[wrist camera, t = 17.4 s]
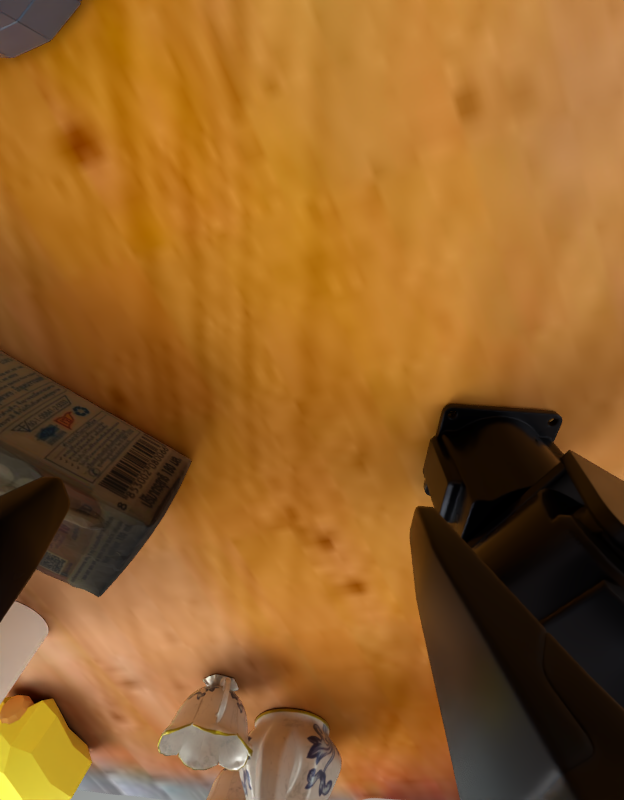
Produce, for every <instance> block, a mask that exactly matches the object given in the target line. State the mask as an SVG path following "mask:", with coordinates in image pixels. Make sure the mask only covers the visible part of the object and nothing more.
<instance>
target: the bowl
mask: <svg viewBox="0 0 624 800" xmlns="http://www.w3.org/2000/svg"><path fill="white" fill-rule="evenodd" d="M80 1H82V0H0V58H11V57H12V58H14V57H16V56H18V55H21V54H23V53H25V52H27V51H29V50H32V49H34V48H36V47H38V46H40V45H43V44H45V43H47V42H49V41H51V40H52V39H53V38H54V37H55V35H56V34H57V33H58V32H59V30H60V29H61V28H62V27H63V25H64V24H65V23H66V22H67V20H68V19H69V18H70V17H71V16H72V14H73V13H74V12H75V11H76V9H77V8H78V7H79V6H80V4H81V3H80Z"/></svg>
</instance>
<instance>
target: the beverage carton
mask: <svg viewBox="0 0 624 800" xmlns="http://www.w3.org/2000/svg"><path fill="white" fill-rule="evenodd" d="M191 462H192V461H191V459H189V458H187V457H185V456H183V455H181V454H180V453H178V452H177V451H175V450H173V449H172V448H170V447H168V446H167V445H165V444H163V443H161V442H160V441H158V440H156V439H154V438H153V437H151V436H149V435H147V434H146V433H144V432H142V431H140V430H139V429H137V428H135V427H133V426H132V425H130V424H128V423H126V422H125V421H123V420H121V419H119V418H118V417H116V416H114V415H112V414H110V413H109V412H107V411H105V410H103V409H101V408H100V407H98V406H96V405H95V404H93V403H91V402H89V401H88V400H86V399H84V398H82V397H80V396H79V395H77V394H75V393H74V392H72V391H70V390H69V389H67V388H65V387H63V386H61V385H59V384H58V383H56V382H54V381H52V380H51V379H49V378H47V377H45V376H44V375H42V374H40V373H38V372H37V371H35V370H33V369H31V368H29V367H28V366H26V365H24V364H22V363H21V362H19V361H17V360H15V359H14V358H12V357H10V356H9V355H7V354H5V353H3V352H2V351H0V496H1V495H3V494H5V493H7V492H10V491H12V490H14V489H16V488H18V487H20V486H23V485H25V484H27V483H29V482H31V481H33V480H36V479H38V478H40V477H44V476H48V477H58V478H60V479H61V480H62V481H63V483H64V486H65V488H66V491H67V494H68V497H69V500H70V508H69V511H68V513H67V515H66V516H65V518H64V520H63V522H62V524H61V525H60V527H59V529H58V531H57V533H56V535H55V536H54V538H53V540H52V542H51V544H50V546H49V547H48V549H47V551H46V553H45V555H44V557H43V558H42V560H41V562H40V563H39V565H38V567H37V568H36V569H37V570H39V571H41V572H43V573H45V574H47V575H49V576H52V577H54V578H57V579H59V580H61V581H64V582H66V583H68V584H70V585H71V586H73V587H76V588H80V589H84V590H86V591H88V592H90V593H92V594H94V595H96V596H97V597H99V596H101V595H102V594H103V593H104V592H105V591H106V590H107V589H108V587H109V586H110V585H111V584H112V583H113V582H114V581H115V580H116V579H117V577H118V576H119V575H120V574H121V573H122V572H123V570H124V569H125V568H126V567H127V566H128V564H129V563H130V562H131V561H132V559H133V558H134V557H135V556H136V555H137V553H138V552H139V551H140V549H141V548H142V547H143V545H144V544H145V543H146V541H147V540H148V539H149V537H150V536H151V534H152V533H153V531H154V530H155V528H156V527H157V525H158V524H159V523H160V521H161V520H162V518H163V517H164V515H165V513H166V511H167V510H168V508H169V506H170V504H171V503H172V501H173V499H174V497H175V495H176V493H177V492H178V490H179V488H180V486H181V484H182V481H183V479H184V477H185V475H186V473H187V471H188V468H189V466H190V464H191Z"/></svg>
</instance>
